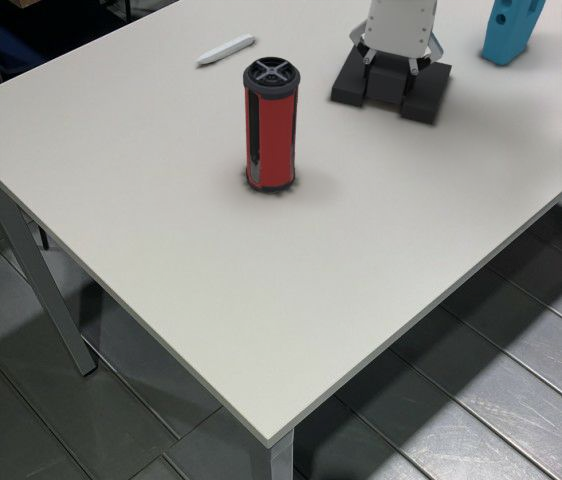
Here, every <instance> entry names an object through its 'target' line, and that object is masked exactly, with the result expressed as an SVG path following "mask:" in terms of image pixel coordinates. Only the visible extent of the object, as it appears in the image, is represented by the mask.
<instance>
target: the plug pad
mask: <svg viewBox="0 0 562 480" xmlns="http://www.w3.org/2000/svg"><path fill="white" fill-rule="evenodd" d="M409 69H410V64H409V59H407V58H403V57H398V56H394V55H389V54H385V53H381V52H379V54H378V56H377V58H376V60H375V63H374V65H373V66H372V68H371V70H370V74H369V80H368V86H367V93H366V96H365V97H367V98H371V99H376V100H380V101H384V102H389V103H392V104H397V105H401V104H402V101H403V98H404V97H405V96H404V95H403V93H404V89H405V84H406V79H407V75H408V71H409Z"/></svg>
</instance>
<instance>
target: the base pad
mask: <svg viewBox="0 0 562 480" xmlns="http://www.w3.org/2000/svg"><path fill="white" fill-rule="evenodd" d="M379 52H381V53H385V54H389V55H394V56H398V57H403V58H407V59H409V58H408V57H406V56H401V55H397V54H392V53H388V52H384V51H379V50H377V52H376V54H375V55H376V58H377V56H378V54H379ZM363 60H364V58H363V57H362V56H361V54H360V53H359V51H358V50H357V47H356V45H354V44H353V46H352V48H351V50H350V51H349V54H348V55H347V58H346V59H345V61H344V63H343V65H342V67H341V69H340V71H339V73H338V75H337V77H336V79H335V80H334V83H333V84H332V86H331V92H330V101H332V102H336V103H339V104H340V103H341V104H344V105H349V106H353V107H357V108H362V105H363V102H364V101H365V98H366V97H367V96H366V93H367V87H365V84H366V79H365V78H363V76H364V69H365V63H364V61H363ZM452 68H453V65H452V64H449V63H444V62H440V61H435V62H434V63H431V64H430V65H429V66H428V67H426V68H424V69H423V70H421V71H419V72H418V74H417V77H416V82H415V86H414V89H413V90H411V89H409V92H408V94H407V96H406V97H405V100H404V103H403V106H402V111H401V116H400V117H401V118H402V119H407V120H410V121H415V122H419V123H422V124H427V125H431V126H432V125H433V124H434V120H435V117H436V115H437V112H438V109H439V106H440V104H441V100H442V98H443V95H444V93H445V89H446V86H447V84H448V81H449V78H450V74H451V70H452Z"/></svg>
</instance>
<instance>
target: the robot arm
mask: <svg viewBox="0 0 562 480" xmlns="http://www.w3.org/2000/svg"><path fill="white" fill-rule="evenodd" d="M437 9H438V0H371V2H370V7H369V11H368V15H367V18H365V20H363V21H361V23H359V24H358V25H356V26H355V27H354V28H352V29H351V31H350V33H349V35H348V37H349V39H350V40H351V42H352V43H353V46H354V45H356V47H357V50H358V51H359V53H360V54H361V56H362V57H363V58H364V60H363V61H364V63H365V69H364V76H363V78H365V79H366V84H365V87H367V86H368V80H369V74H370V70H371V68H372V66H373V65H374V63H375V60H376V55H375V54H376V52H377V50H379V51H384V52H388V53H392V54H397V55H401V56H406V57H408V58H409V64H410V69H409V71H408V75H407V79H406V84H405V89H404V93H403V95H404V96H403V97H407V95H408V93H409V89H411V90H413V89H414V86H415V82H416V77H417V74H418V72H419V71H421V70H423V69H424V68H426V67H428V66H429V65H430V64H431V63H434V62H438V61H439V60H441V59H442V58H443V55H444V53H445V50H444V49H443V46H442V45H441V44H440V42H439V40H438V39H437V37H436V35H435V34H434V31H433V30H434V25H435V19H436V15H437ZM363 34H364V35H363ZM363 36H364V37H363ZM427 48H428V49H429V50H430V52H429V53H427V54H426V51H427Z"/></svg>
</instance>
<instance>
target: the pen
mask: <svg viewBox="0 0 562 480" xmlns="http://www.w3.org/2000/svg"><path fill="white" fill-rule="evenodd" d="M255 39H256V36H255V35H254V34H251V33H245V34H242V35H240V36H238V37H236V38H234V39H231V40H229V41H227V42H225V43H223V44H221V45H218V46H216V47H215V48H213V49H210V50H209V51H207V52H205V53H202V54H201V55H200V56H198V57H197V59H196V61H195V63H197V64H203V65H204V64H205V65H206V64H210V63H213V62H215V61H219V60H221V59H224V58H227V57H228V56H230V55H232V54H234V53H236V52H239V51H240V50H242V49H244V48H246V47H249V46H250V45H252V44H253V43H254V42H255Z"/></svg>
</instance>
